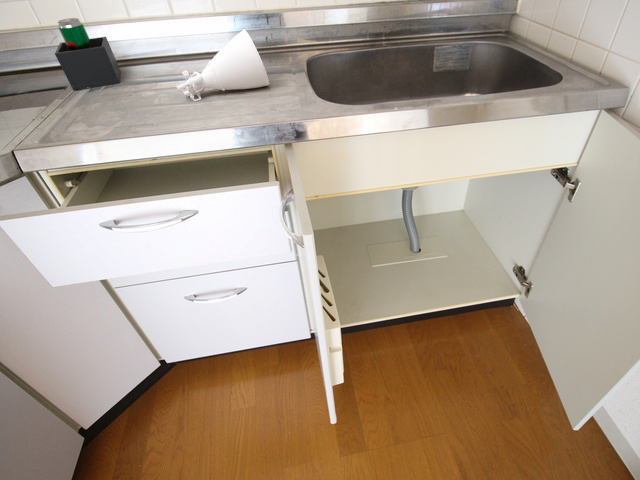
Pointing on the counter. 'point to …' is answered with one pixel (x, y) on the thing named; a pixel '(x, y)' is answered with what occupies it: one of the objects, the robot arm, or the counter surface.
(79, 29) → the soda can
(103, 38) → the bin
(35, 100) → the counter surface
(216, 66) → the rocket engine
